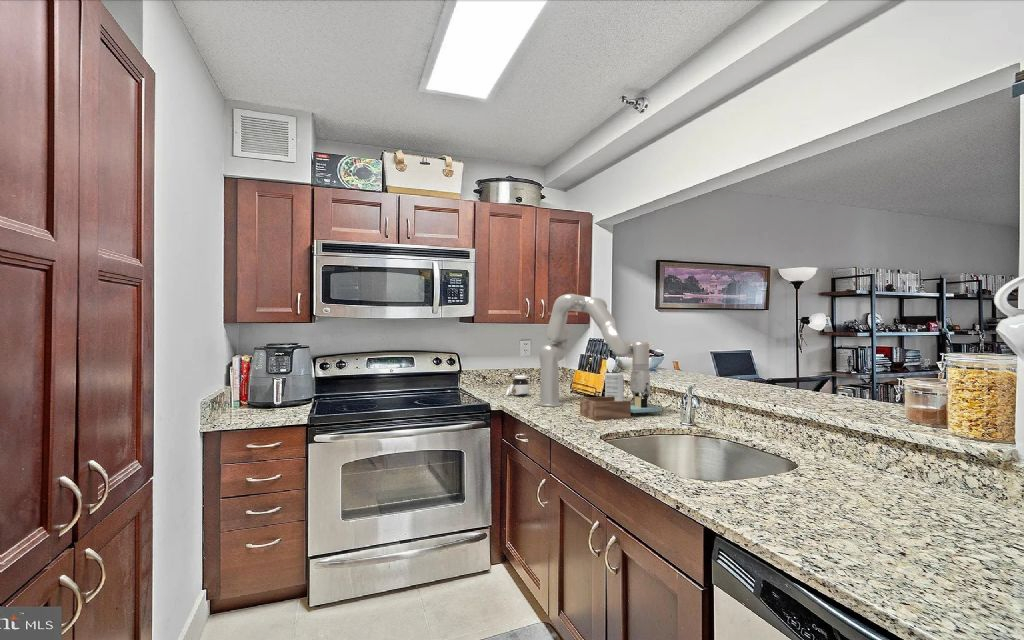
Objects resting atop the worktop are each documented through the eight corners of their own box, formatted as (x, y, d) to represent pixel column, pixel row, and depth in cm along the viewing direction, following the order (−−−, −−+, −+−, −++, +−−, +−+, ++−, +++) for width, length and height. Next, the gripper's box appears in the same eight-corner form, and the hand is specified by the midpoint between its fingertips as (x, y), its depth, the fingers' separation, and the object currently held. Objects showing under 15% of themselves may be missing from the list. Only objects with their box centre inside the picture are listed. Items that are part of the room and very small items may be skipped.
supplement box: (623, 408, 239) (623, 375, 240) (604, 407, 241) (605, 374, 241) (622, 405, 249) (623, 373, 249) (604, 404, 251) (605, 372, 251)
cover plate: (619, 408, 227) (619, 396, 227) (646, 406, 233) (646, 394, 233) (633, 412, 216) (633, 399, 216) (661, 410, 222) (661, 398, 222)
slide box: (580, 414, 221) (580, 398, 221) (613, 412, 227) (613, 396, 228) (595, 420, 208) (595, 402, 208) (630, 418, 214) (630, 400, 214)
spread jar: (530, 396, 276) (530, 376, 276) (514, 398, 270) (514, 377, 270) (518, 393, 286) (519, 374, 286) (503, 395, 279) (503, 375, 280)
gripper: (623, 366, 231) (623, 404, 231) (645, 369, 215) (644, 409, 215) (636, 366, 234) (636, 403, 234) (658, 369, 218) (658, 409, 218)
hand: (640, 406), depth 225 cm, fingers closed on cover plate, 5 cm apart
